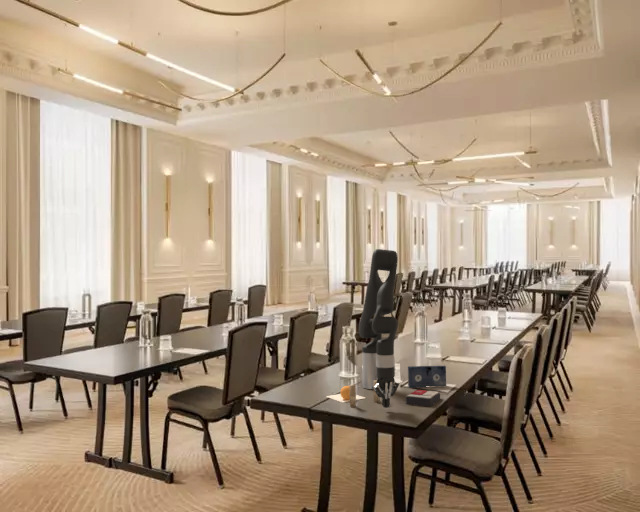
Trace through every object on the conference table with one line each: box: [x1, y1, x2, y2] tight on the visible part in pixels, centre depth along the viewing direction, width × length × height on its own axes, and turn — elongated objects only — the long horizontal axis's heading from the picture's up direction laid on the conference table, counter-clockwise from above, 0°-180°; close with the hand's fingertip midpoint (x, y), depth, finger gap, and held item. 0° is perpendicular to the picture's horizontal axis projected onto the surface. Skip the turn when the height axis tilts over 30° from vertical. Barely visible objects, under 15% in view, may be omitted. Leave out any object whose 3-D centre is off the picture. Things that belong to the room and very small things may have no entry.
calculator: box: [405, 389, 441, 408], centre depth 246 cm, size 11×4×15 cm
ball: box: [339, 385, 350, 400], centre depth 252 cm, size 6×6×6 cm
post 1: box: [349, 384, 357, 408], centre depth 240 cm, size 3×3×9 cm
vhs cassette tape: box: [407, 365, 447, 389], centre depth 274 cm, size 18×3×10 cm, turn 92°
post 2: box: [373, 380, 381, 403], centre depth 247 cm, size 3×3×9 cm
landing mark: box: [325, 393, 366, 404], centre depth 255 cm, size 13×13×1 cm
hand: (386, 407), depth 232 cm, fingers closed
